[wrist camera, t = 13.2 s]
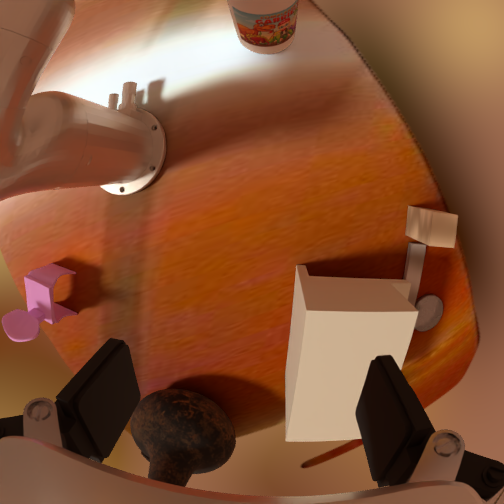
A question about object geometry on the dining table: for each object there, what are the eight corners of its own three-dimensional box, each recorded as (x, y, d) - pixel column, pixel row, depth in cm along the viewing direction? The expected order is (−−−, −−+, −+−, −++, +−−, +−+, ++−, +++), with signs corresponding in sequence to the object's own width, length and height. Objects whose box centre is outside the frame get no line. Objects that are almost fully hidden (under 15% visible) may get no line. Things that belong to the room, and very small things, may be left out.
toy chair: (80, 270, 41) (18, 304, 26) (81, 316, 43) (29, 357, 28) (48, 258, 41) (-12, 285, 26) (50, 302, 43) (-2, 335, 29)
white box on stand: (296, 264, 37) (306, 310, 24) (393, 269, 36) (442, 310, 23) (285, 374, 41) (285, 441, 28) (369, 373, 40) (393, 434, 27)
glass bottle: (129, 393, 46) (61, 499, 19) (191, 357, 42) (120, 506, 15) (192, 446, 48) (157, 553, 21) (259, 421, 45) (243, 558, 18)
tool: (408, 205, 34) (433, 211, 27) (431, 208, 34) (458, 215, 27) (385, 337, 39) (400, 362, 32) (407, 336, 38) (424, 360, 32)
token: (411, 294, 37) (414, 297, 36) (442, 291, 37) (446, 294, 35) (405, 329, 39) (408, 333, 37) (435, 325, 38) (438, 328, 37)
